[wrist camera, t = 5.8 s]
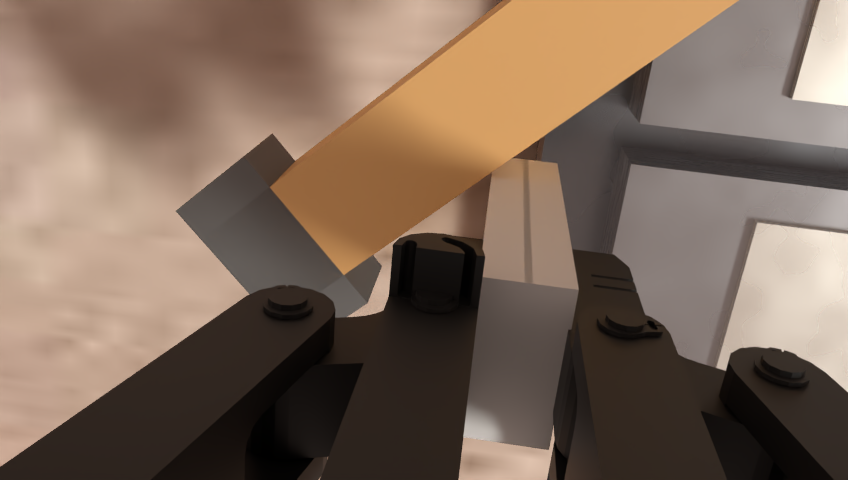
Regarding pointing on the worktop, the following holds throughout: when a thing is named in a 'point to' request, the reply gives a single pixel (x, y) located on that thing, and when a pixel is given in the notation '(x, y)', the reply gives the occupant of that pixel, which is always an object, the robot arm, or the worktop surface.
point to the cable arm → (426, 140)
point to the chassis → (726, 183)
